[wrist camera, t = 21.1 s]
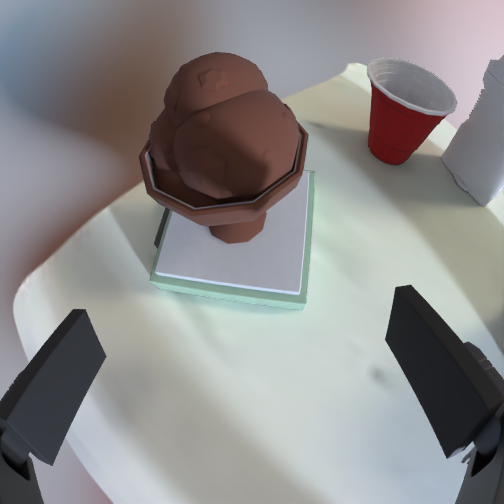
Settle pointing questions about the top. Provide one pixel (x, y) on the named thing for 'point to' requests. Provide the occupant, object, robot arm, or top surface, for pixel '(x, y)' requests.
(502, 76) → the tall pale column
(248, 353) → the top surface
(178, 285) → the scale
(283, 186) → the ice cream bowl
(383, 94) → the plastic cup
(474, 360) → the robot arm
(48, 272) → the top surface
